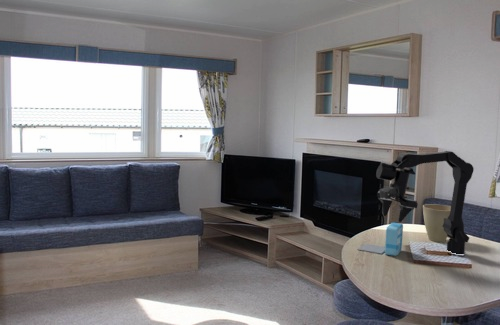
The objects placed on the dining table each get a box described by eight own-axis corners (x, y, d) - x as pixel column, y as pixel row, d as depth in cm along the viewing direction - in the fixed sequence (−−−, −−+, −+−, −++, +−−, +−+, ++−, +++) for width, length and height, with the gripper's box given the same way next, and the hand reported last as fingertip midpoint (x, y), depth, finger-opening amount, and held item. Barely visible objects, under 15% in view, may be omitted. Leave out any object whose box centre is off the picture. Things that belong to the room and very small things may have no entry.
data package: (395, 257, 196) (397, 228, 194) (384, 255, 198) (386, 227, 196) (401, 250, 206) (403, 223, 205) (391, 248, 208) (392, 221, 207)
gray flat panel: (388, 248, 208) (388, 247, 208) (381, 254, 199) (381, 253, 199) (365, 244, 214) (365, 243, 214) (357, 249, 204) (357, 249, 204)
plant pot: (425, 243, 218) (427, 209, 216) (417, 235, 232) (419, 203, 231) (458, 245, 216) (461, 211, 214) (449, 237, 231) (451, 204, 229)
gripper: (371, 176, 201) (363, 211, 203) (401, 185, 185) (392, 223, 186) (390, 179, 206) (382, 213, 208) (422, 188, 190) (413, 225, 191)
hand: (392, 218), depth 198 cm, fingers open, 9 cm apart
